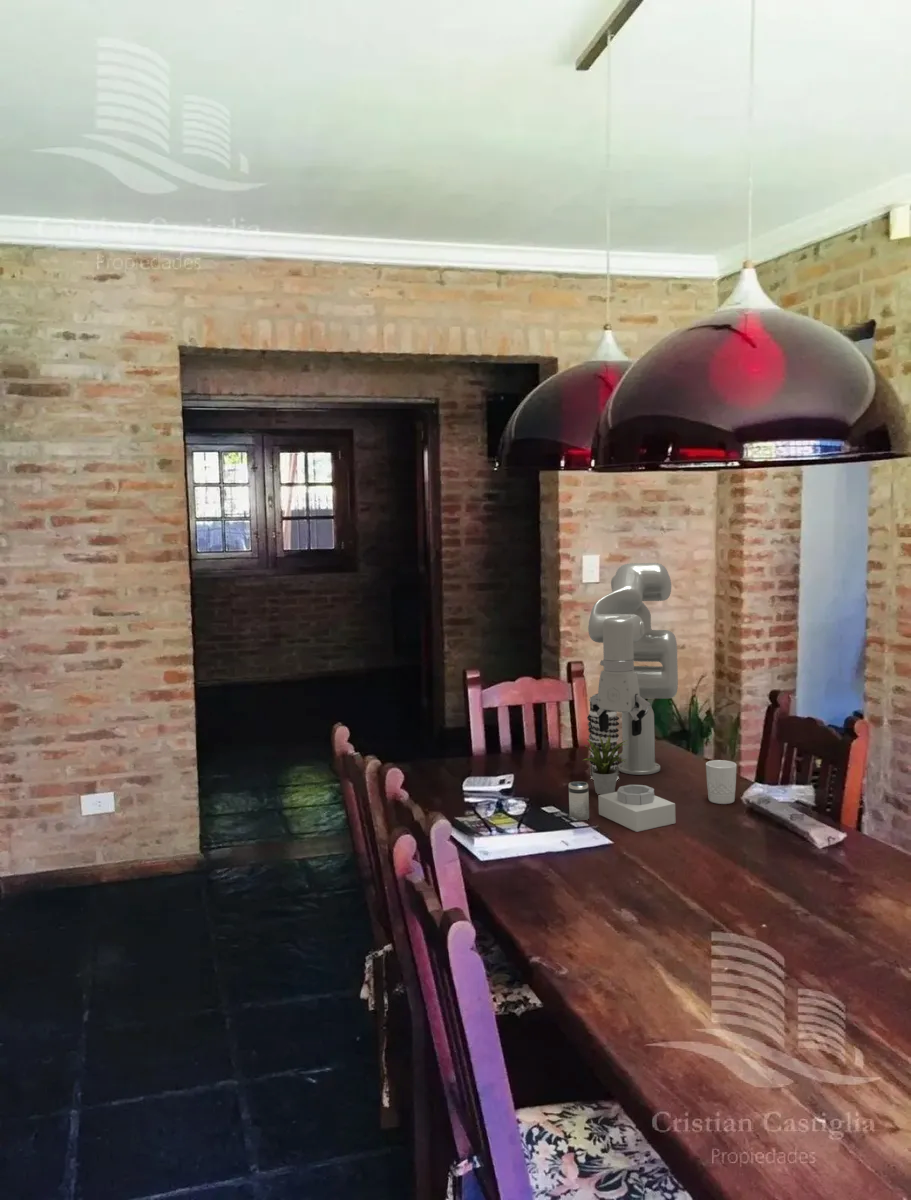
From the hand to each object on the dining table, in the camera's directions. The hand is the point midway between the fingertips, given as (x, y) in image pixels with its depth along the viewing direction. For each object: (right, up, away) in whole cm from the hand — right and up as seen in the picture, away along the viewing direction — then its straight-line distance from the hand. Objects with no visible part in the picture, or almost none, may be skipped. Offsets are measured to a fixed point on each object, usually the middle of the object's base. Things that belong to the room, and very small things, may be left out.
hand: (620, 732), depth 235 cm
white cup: (+29, -20, +12) cm, 37 cm away
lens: (-10, -22, +2) cm, 25 cm away
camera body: (+4, -22, 0) cm, 22 cm away
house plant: (0, -20, +21) cm, 29 cm away
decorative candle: (+2, -19, +36) cm, 41 cm away
